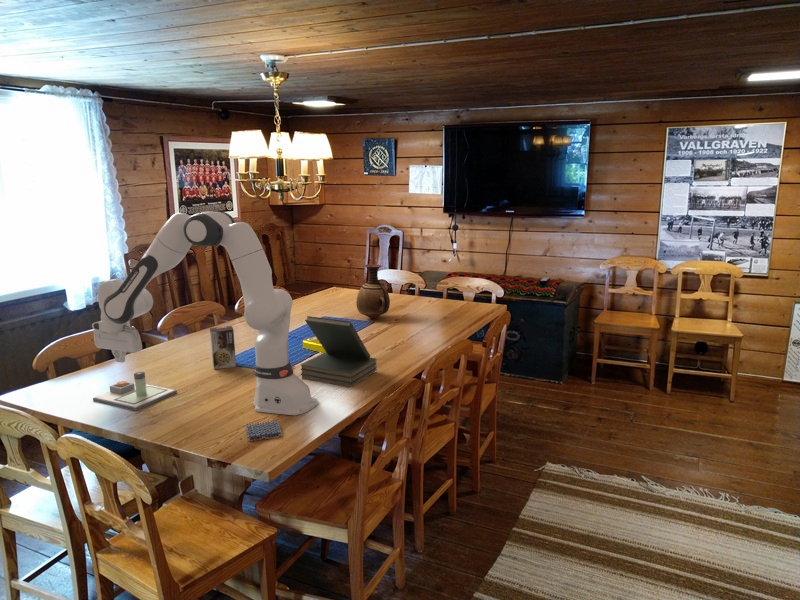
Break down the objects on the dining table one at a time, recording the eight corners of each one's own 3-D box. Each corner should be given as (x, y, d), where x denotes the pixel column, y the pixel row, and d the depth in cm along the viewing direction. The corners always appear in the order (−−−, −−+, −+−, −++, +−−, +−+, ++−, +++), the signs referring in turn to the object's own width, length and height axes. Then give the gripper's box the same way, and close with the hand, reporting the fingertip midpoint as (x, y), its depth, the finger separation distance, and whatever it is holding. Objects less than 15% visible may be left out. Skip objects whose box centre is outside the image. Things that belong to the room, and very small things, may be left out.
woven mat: (278, 424, 184) (278, 418, 183) (283, 438, 174) (282, 432, 173) (244, 429, 180) (244, 423, 180) (247, 443, 171) (247, 437, 170)
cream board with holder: (176, 392, 209) (176, 383, 208) (135, 410, 193) (134, 401, 192) (135, 384, 218) (134, 375, 217) (93, 400, 202) (92, 391, 201)
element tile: (325, 355, 254) (325, 344, 253) (301, 349, 262) (300, 339, 261) (347, 347, 266) (347, 337, 265) (322, 342, 274) (322, 332, 273)
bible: (376, 373, 231) (376, 312, 226) (351, 388, 214) (350, 323, 209) (328, 364, 241) (327, 306, 236) (300, 379, 224) (298, 317, 219)
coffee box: (234, 362, 243) (232, 325, 240) (236, 366, 237) (234, 329, 234) (212, 364, 240) (209, 327, 237) (213, 369, 234) (210, 331, 231)
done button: (129, 387, 209) (129, 381, 208) (121, 390, 206) (121, 385, 205) (123, 386, 210) (122, 380, 209) (115, 389, 207) (114, 383, 206)
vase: (353, 315, 324) (352, 263, 318) (384, 313, 329) (383, 261, 323) (362, 324, 304) (361, 268, 298) (394, 322, 309) (394, 267, 303)
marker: (149, 393, 205) (146, 372, 203) (140, 397, 202) (138, 375, 200) (142, 392, 206) (140, 371, 204) (134, 395, 203) (131, 374, 201)
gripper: (144, 324, 201) (148, 362, 204) (104, 319, 210) (108, 356, 213) (129, 329, 195) (133, 367, 198) (88, 323, 204) (93, 361, 207)
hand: (120, 361), depth 206 cm, fingers closed
